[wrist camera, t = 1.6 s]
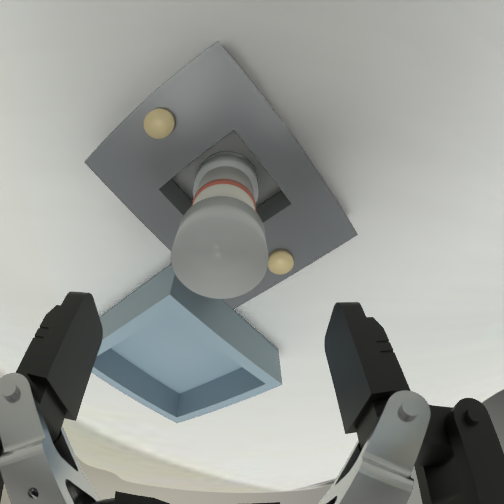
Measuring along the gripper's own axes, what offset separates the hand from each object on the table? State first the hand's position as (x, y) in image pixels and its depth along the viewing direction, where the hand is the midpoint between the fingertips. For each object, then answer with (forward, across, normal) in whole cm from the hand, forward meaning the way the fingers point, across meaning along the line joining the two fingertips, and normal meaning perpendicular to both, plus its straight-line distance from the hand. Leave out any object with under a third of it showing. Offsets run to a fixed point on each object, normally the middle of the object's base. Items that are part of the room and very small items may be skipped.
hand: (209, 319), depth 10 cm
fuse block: (+12, 0, 0) cm, 12 cm away
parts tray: (+12, +4, +15) cm, 20 cm away
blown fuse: (+12, 0, 0) cm, 12 cm away
